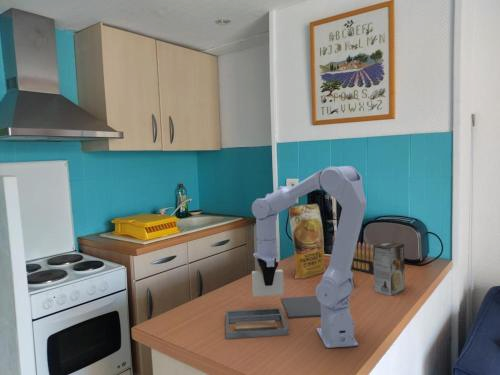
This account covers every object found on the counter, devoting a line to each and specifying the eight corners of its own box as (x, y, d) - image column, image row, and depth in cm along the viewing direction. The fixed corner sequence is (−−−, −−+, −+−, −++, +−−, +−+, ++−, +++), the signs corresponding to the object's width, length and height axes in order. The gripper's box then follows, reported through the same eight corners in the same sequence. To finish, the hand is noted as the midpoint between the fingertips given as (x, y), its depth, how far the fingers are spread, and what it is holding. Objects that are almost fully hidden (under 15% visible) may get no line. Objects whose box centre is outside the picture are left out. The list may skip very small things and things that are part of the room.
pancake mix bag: (284, 277, 139) (282, 206, 137) (319, 267, 150) (318, 202, 148) (296, 281, 133) (294, 208, 131) (331, 271, 144) (330, 203, 142)
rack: (288, 334, 93) (288, 329, 93) (226, 339, 92) (225, 333, 92) (280, 312, 107) (280, 307, 107) (225, 315, 106) (225, 311, 106)
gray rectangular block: (283, 294, 104) (283, 271, 104) (253, 296, 104) (252, 273, 103) (282, 292, 106) (281, 269, 106) (252, 294, 106) (252, 271, 105)
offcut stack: (279, 335, 94) (279, 326, 94) (234, 338, 93) (234, 329, 93) (277, 328, 98) (277, 319, 98) (234, 330, 97) (234, 322, 97)
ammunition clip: (348, 269, 146) (348, 240, 145) (351, 268, 148) (351, 239, 147) (373, 274, 139) (373, 244, 138) (375, 273, 140) (375, 243, 139)
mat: (335, 315, 104) (335, 313, 104) (288, 318, 103) (288, 316, 103) (322, 297, 118) (322, 295, 118) (281, 299, 117) (281, 298, 117)
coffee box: (387, 284, 127) (387, 240, 126) (405, 289, 122) (405, 243, 121) (373, 291, 121) (373, 245, 120) (391, 296, 116) (391, 248, 115)
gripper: (250, 234, 111) (252, 276, 112) (255, 245, 96) (257, 293, 97) (273, 233, 111) (274, 275, 112) (281, 243, 97) (282, 291, 98)
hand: (268, 283), depth 105 cm, fingers closed on gray rectangular block, 2 cm apart
